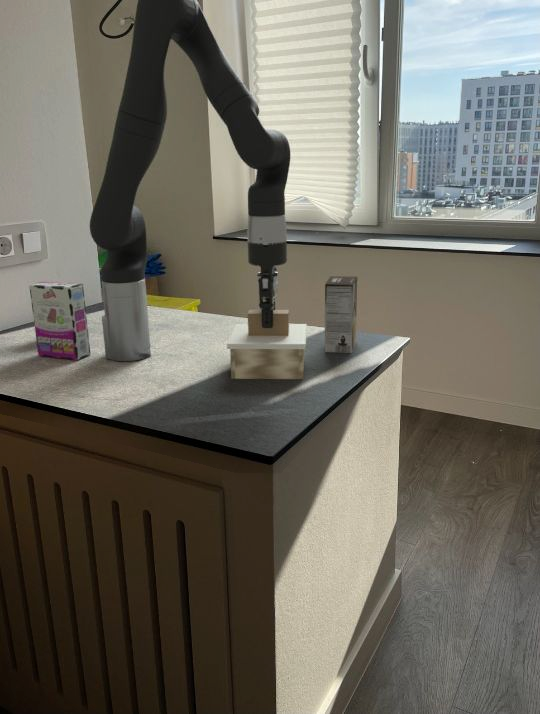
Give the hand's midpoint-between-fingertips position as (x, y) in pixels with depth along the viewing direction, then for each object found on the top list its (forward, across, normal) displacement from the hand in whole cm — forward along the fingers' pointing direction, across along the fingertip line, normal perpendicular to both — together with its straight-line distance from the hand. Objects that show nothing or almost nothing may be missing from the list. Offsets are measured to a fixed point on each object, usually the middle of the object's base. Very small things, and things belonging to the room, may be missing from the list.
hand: (268, 323), depth 129 cm
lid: (+3, 0, 0) cm, 3 cm away
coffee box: (+10, -15, +15) cm, 24 cm away
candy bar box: (+10, -10, -47) cm, 49 cm away
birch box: (+10, 0, 0) cm, 10 cm away
